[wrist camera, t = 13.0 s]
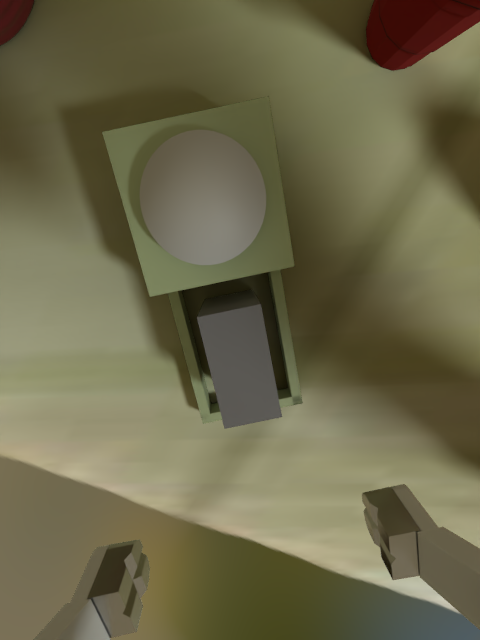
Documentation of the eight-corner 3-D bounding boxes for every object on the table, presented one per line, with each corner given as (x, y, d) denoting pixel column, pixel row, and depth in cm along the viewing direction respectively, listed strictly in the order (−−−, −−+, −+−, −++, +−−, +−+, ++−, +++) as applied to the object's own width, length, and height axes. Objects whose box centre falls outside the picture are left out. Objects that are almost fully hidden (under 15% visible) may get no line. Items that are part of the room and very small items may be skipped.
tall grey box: (252, 289, 29) (260, 304, 21) (268, 375, 32) (281, 416, 24) (204, 299, 29) (196, 317, 21) (225, 384, 32) (224, 428, 24)
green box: (259, 131, 25) (271, 86, 18) (302, 393, 32) (322, 432, 25) (130, 158, 26) (94, 124, 19) (200, 414, 32) (192, 459, 25)
